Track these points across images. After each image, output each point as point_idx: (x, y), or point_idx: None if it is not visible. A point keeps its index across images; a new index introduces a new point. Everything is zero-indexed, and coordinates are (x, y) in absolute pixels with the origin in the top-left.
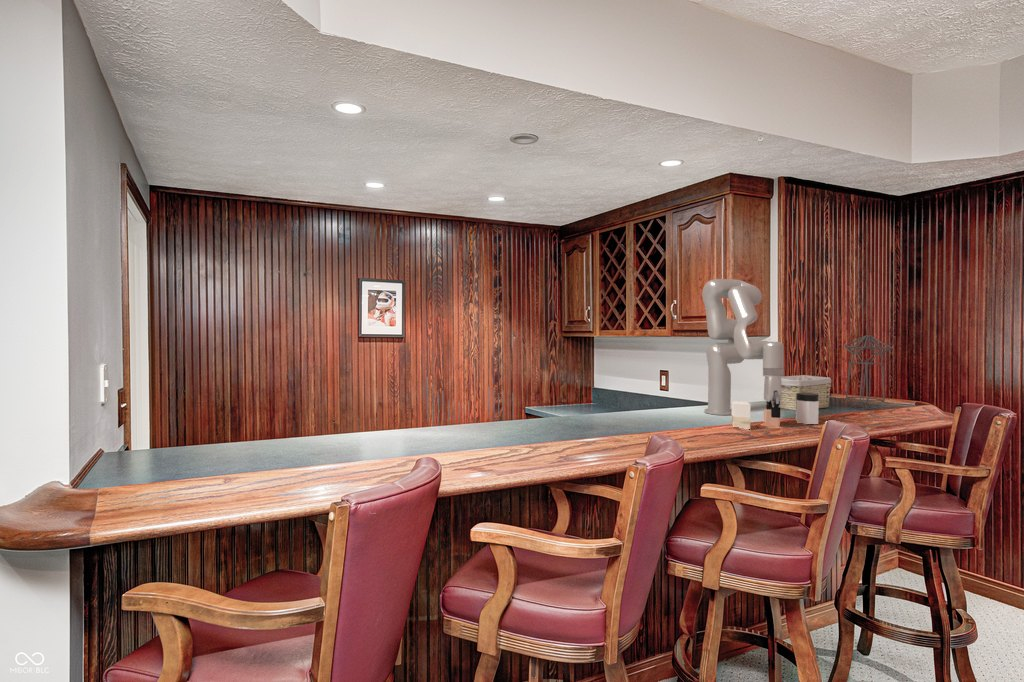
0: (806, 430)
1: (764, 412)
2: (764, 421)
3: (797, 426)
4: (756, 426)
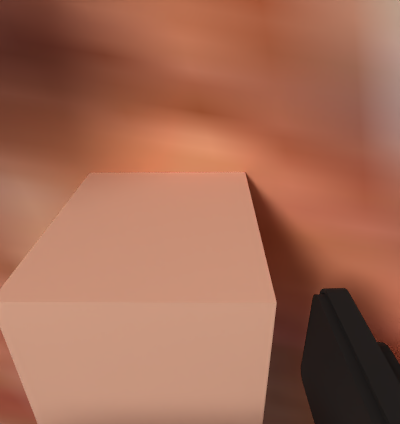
0: (24, 418)
1: (205, 264)
2: (194, 189)
3: None
4: (9, 42)
